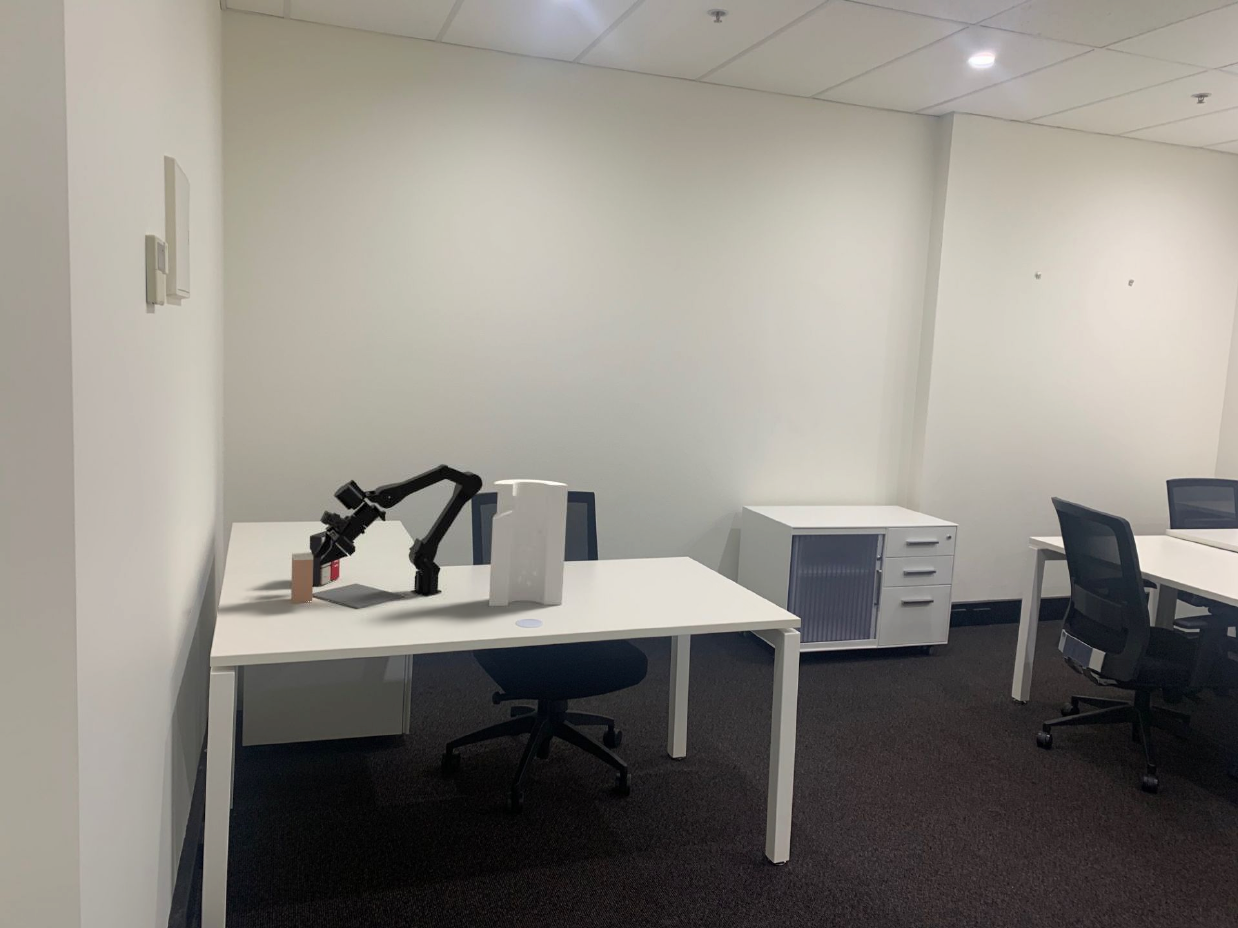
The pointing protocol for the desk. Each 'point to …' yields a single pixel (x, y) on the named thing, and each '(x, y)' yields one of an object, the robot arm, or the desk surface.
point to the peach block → (302, 577)
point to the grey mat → (357, 595)
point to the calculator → (325, 571)
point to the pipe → (528, 542)
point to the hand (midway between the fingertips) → (317, 560)
